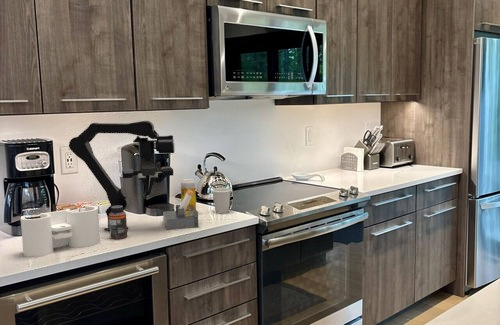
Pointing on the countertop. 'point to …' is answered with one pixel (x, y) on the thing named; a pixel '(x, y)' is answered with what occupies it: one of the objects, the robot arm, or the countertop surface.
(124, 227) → the supplement bottle
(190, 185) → the yellow jar
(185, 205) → the breaker lever
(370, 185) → the countertop surface
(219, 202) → the dixie cup
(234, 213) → the countertop surface
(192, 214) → the grey block with tab
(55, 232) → the white twin cylinder holder
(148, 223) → the countertop surface
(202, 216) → the countertop surface
